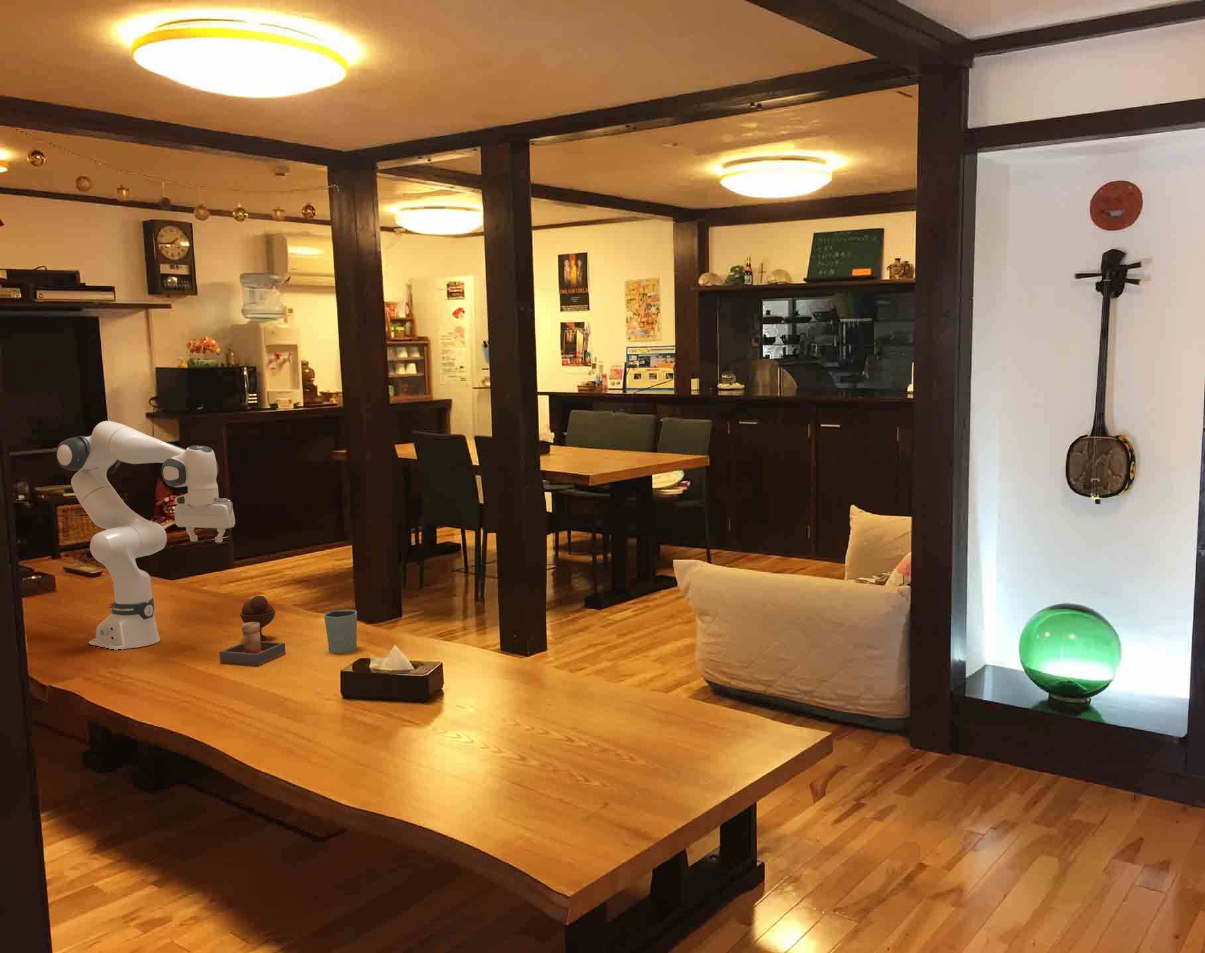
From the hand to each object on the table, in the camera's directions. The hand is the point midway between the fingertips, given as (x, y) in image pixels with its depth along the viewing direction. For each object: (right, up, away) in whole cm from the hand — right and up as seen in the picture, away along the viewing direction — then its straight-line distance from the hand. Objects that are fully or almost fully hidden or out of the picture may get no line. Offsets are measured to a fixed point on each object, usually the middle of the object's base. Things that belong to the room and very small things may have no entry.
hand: (206, 541), depth 323 cm
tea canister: (+16, -35, -6) cm, 39 cm away
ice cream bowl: (+11, -34, +16) cm, 39 cm away
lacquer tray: (+17, -36, -6) cm, 40 cm away
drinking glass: (+42, -34, +2) cm, 55 cm away
